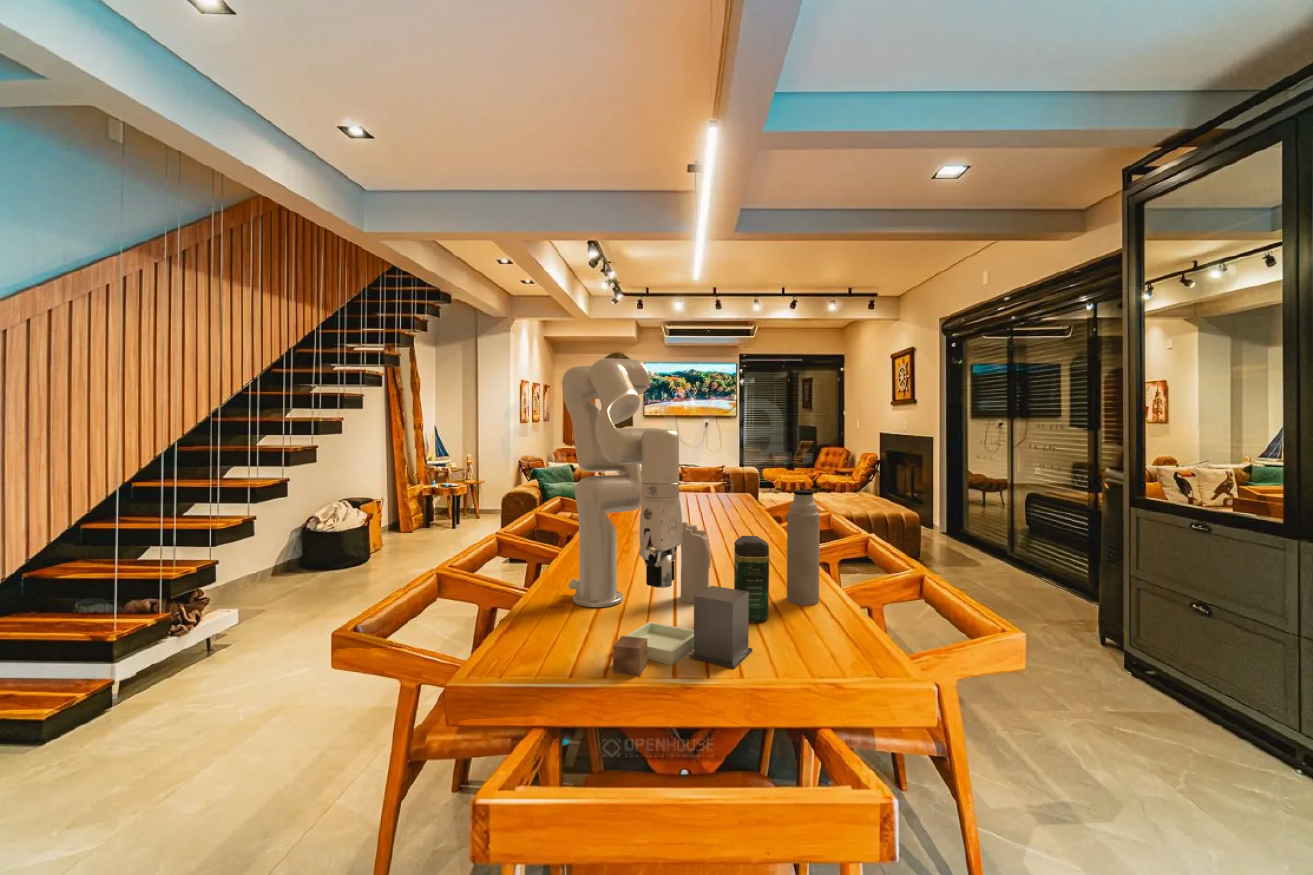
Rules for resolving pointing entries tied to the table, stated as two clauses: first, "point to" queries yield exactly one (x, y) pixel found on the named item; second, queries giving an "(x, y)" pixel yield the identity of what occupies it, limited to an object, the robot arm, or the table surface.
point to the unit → (721, 626)
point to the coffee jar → (753, 574)
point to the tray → (665, 641)
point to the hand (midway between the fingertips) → (660, 581)
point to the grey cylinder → (665, 569)
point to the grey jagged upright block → (694, 562)
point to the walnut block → (630, 655)
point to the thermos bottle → (803, 549)
